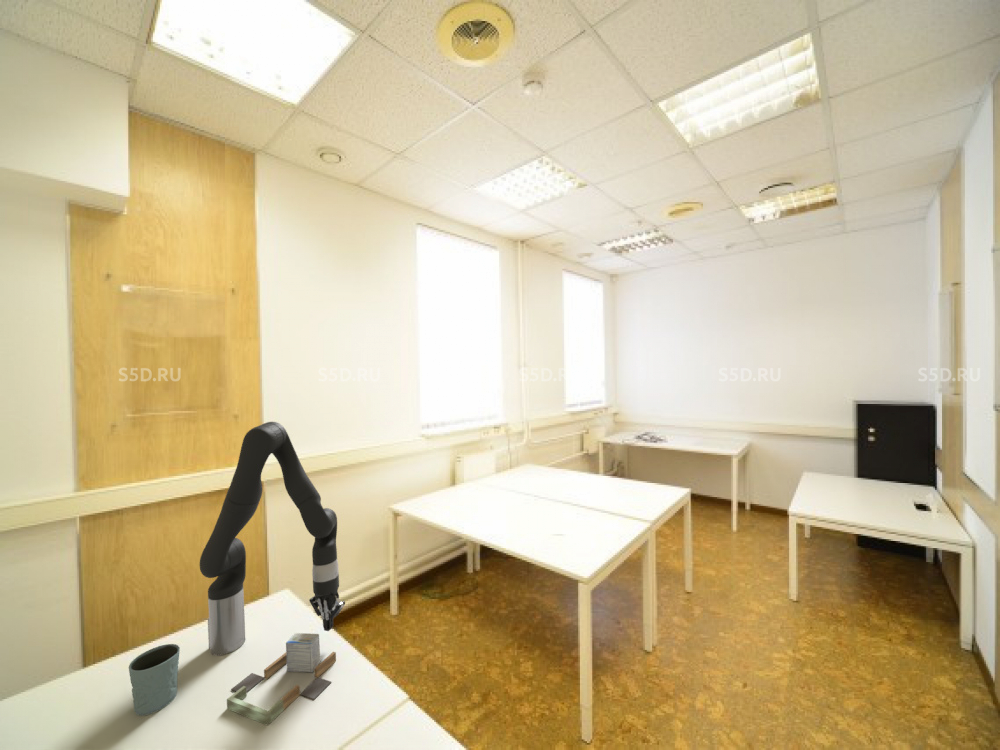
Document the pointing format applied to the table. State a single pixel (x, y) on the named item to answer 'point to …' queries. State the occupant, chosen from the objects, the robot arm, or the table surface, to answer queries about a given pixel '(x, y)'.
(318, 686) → the trap channel
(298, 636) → the medicine box
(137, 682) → the blue-grey vase
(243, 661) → the table surface
